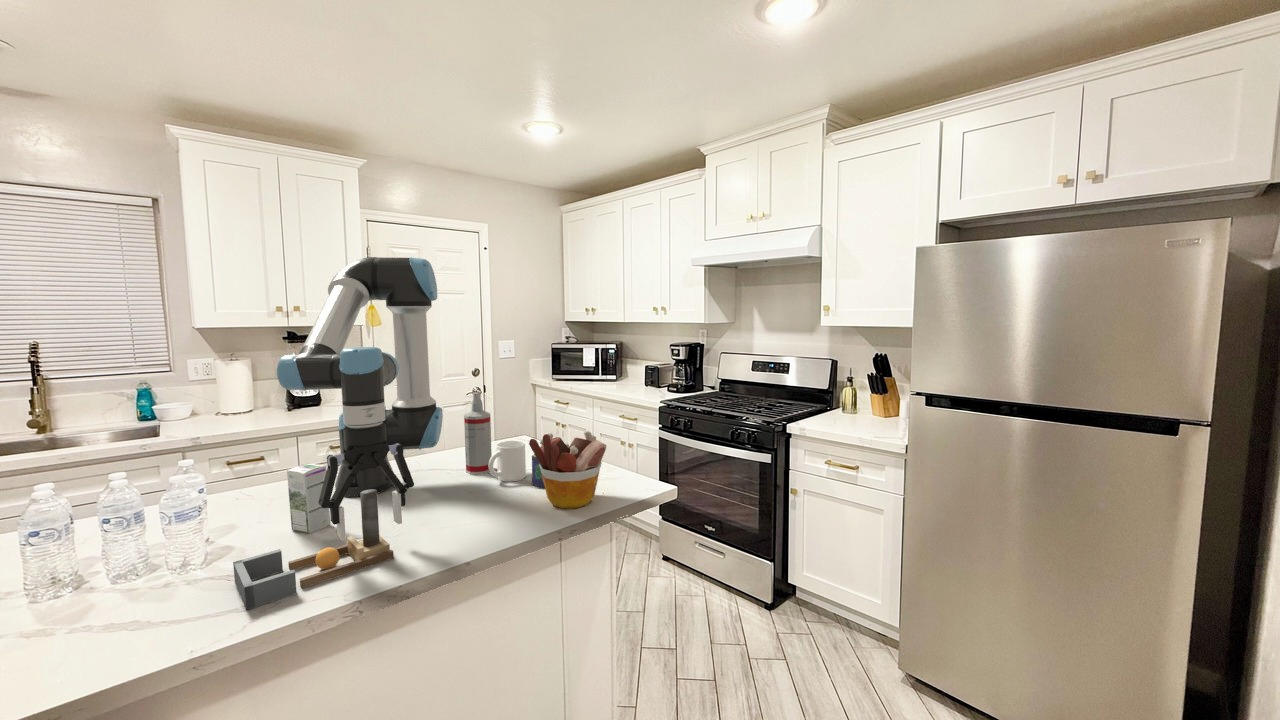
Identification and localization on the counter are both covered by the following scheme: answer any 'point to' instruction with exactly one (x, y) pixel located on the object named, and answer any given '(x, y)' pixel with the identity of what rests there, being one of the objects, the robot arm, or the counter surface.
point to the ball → (327, 558)
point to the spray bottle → (477, 438)
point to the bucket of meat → (569, 468)
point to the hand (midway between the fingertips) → (370, 529)
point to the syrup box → (307, 498)
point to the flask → (536, 474)
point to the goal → (266, 587)
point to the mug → (509, 461)
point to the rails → (337, 570)
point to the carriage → (368, 529)
